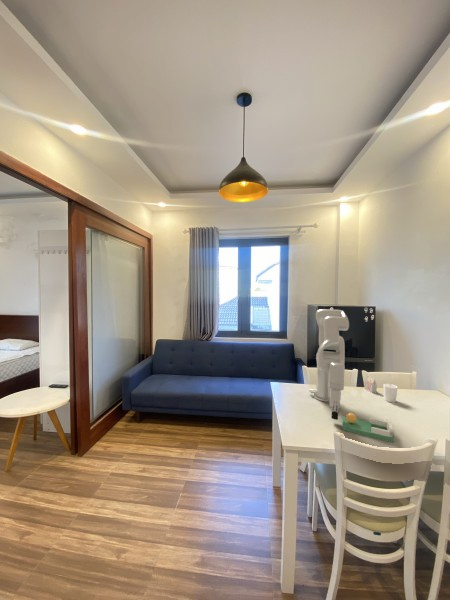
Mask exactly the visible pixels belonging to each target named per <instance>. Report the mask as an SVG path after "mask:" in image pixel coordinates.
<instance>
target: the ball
mask: <svg viewBox="0 0 450 600" xmlns="http://www.w3.org/2000/svg"><path fill="white" fill-rule="evenodd" d="M345 416H346V419H347V421H348V422H349V423H355V422H356V420H357V419H358V418H357V416H356V415H355V414H354V413H352V412H349V413H347V414H346V415H345Z"/></svg>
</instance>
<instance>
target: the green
mask: <svg viewBox="0 0 450 600" xmlns="http://www.w3.org/2000/svg"><path fill="white" fill-rule="evenodd" d="M342 430H343V431H345V432H349V433H353V434H358V435H362V436H365V437H369V438H373V439H378V440H381V441H386V442H389V443H394V432H395V431H394V430H395V429H394V427H393V425H392V421H391V419H390V418H386V420H382V419H377V418H373V417H369V421H367V420H364V419H358V418H357V420H356V422H355V423H349V422H348V421H347V419H346V415H342Z"/></svg>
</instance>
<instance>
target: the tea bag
mask: <svg viewBox="0 0 450 600" xmlns="http://www.w3.org/2000/svg"><path fill="white" fill-rule="evenodd" d="M364 386H365V388H364V389H365V390H366V389H367V390H366V391H368V390H369V391H370V393H371V392H372V393H371V394H375V393H377V390H378V389H377V388H378V387H377V386H378V385H377V382H376V379H375V378H374V377H372V376H369V375H368V376H367V378H366V380H365V385H364ZM369 391H368V392H369Z"/></svg>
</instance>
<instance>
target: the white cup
mask: <svg viewBox="0 0 450 600" xmlns="http://www.w3.org/2000/svg"><path fill="white" fill-rule="evenodd" d="M382 389H383V400H384V401H385V402H388V403H394V404H395V403H396V402H397V401H396V400H397V395H398V386H397V385H395V384H392V383H383V388H382Z"/></svg>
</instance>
